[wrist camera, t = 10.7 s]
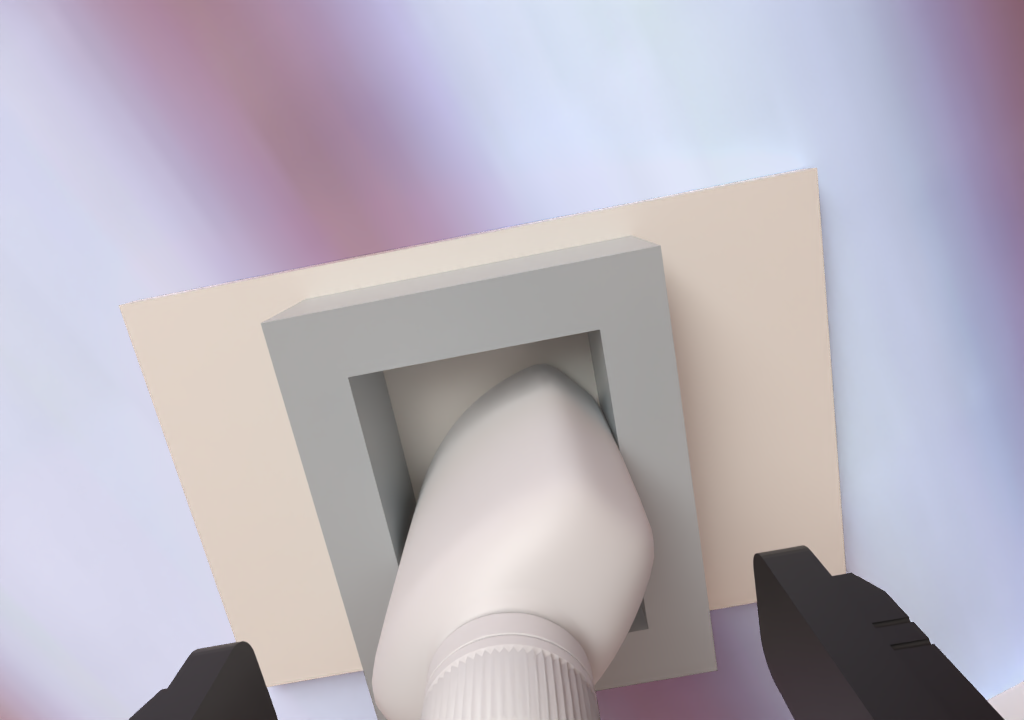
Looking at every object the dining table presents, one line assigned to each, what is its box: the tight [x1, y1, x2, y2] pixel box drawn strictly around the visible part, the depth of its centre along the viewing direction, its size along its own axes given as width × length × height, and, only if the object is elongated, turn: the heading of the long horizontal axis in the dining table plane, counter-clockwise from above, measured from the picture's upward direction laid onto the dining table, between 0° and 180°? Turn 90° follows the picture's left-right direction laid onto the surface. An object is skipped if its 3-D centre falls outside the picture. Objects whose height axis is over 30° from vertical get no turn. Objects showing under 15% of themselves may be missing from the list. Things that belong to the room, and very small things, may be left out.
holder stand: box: [119, 168, 846, 720], centre depth 17 cm, size 12×18×4 cm, turn 101°
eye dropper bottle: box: [372, 364, 654, 720], centre depth 12 cm, size 4×6×12 cm
